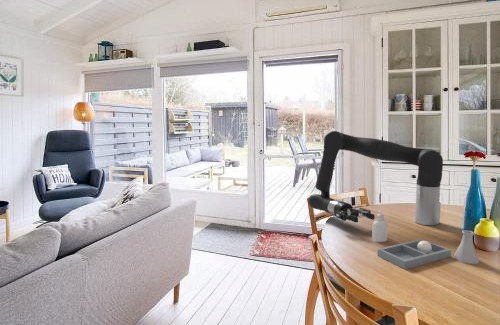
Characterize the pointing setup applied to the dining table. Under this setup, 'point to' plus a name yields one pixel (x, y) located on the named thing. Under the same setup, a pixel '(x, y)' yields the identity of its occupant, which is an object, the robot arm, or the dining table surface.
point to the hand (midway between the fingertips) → (365, 218)
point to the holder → (412, 254)
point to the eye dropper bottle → (379, 229)
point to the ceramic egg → (424, 247)
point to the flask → (466, 249)
